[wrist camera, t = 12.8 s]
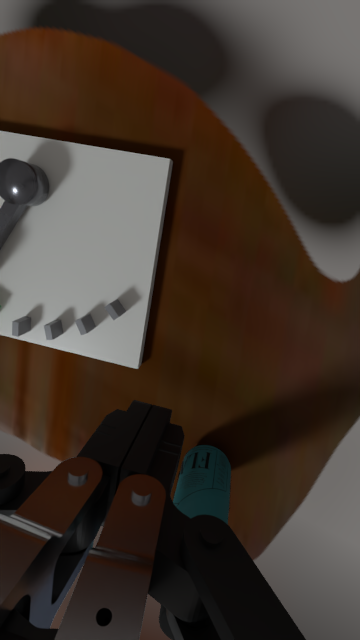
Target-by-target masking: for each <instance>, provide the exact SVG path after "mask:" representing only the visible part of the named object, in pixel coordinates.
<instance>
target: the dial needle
mask: <svg viewBox="0 0 360 640" xmlns="http://www.w3.org/2000/svg"><path fill="white" fill-rule="evenodd" d="M48 194H49V180H48V177H47V175H46V174H45V172H44V171H43V170H42V169H41V168H40V167H39V166H37V165H35V164H31V163H28V162H25V161H21V160H18V159H14V158H8V159H5V160H3V161H2V162H0V196H1V197H2V198H3V199H4V200H5V201H4V203H3V205H2V206H1V208H0V250H1V248H2V247H3V245H4V243H5V242H6V240H7V238H8V237H9V235H10V233H11V232H12V230H13V228H14V227H15V225H16V223H17V222H18V220H19V219H20V217H21V215H22V214H23V212H24V210H25V209H26V207H27V206H38V205H40V204H42V203H43V202H44V201H45V200H46V199H47V197H48Z"/></svg>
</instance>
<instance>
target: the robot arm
mask: <svg viewBox="0 0 360 640" xmlns="http://www.w3.org/2000/svg"><path fill="white" fill-rule="evenodd" d="M171 413H172V410H171V409H167V408H163V407H159V406H156V405H151V404H148V403H144V402H140V401H136V400H134V401H133V402H132V404H131V405H130V407H129V408H128V410H127V412H126V411H122V410H118V409H117V410H115V411H113V412H112V413H110V414H108V415H107V416H106V417H105V418H104V420H103V421H102V423H101V425H99V427H98V428H97V429H96V431H95V432H94V434H93V435H92V436H91V438H90V439H89V440H88V442H87V443H86V445H85V446H84V447H83V449H82V450H81V451H80V453H79V454H78V456H77V457H73V458H69V459H67V460H65V461H63V462H61V463H60V464H59V465H58V466H57V467H56V468H55V469H54V470H53V471H49V472H35V471H34V472H32V471H25V464H24V462H23V461H22V459H20V458H19V457H17V456H15V455H10V454H0V640H139V637H140V632H141V627H142V621H143V616H144V611H145V605H146V600H147V595H148V594H149V595H150V596H152V597H153V598H154V599H155V600H156V601H158V602H159V603H160V604H161V605H163V606H164V607H165V608H166V616H167V620H168V623H169V626H170V628H171V631H172V633H173V636H174V638H175V640H306V639H305V638H304V636H303V635H302V633H301V632H300V630H299V629H298V627H297V626H296V624H295V623H294V621H293V620H292V618H291V617H290V615H289V614H288V612H287V611H286V609H285V608H284V607H283V605H282V604H281V602H280V600H279V599H278V597H277V596H276V595H275V593H274V592H273V590H272V589H271V587H270V586H269V584H268V583H267V581H266V580H265V578H264V577H263V575H262V574H261V572H260V571H259V569H258V568H257V566H256V565H255V563H254V562H253V560H252V559H251V557H250V556H249V554H248V553H247V551H246V550H245V548H244V547H243V545H242V544H241V542H240V541H239V540H238V538H237V537H236V535H235V534H234V532H233V531H232V529H231V528H230V527H229V526H228V525H227V524H226V523H225V522H224V521H223V520H221V519H219V518H217V517H215V516H212V515H206V514H203V515H197V516H195V517H193V518H189V517H188V516H186V515H185V514H183V513H182V512H181V511H180V510H179V509H177V507H176V506H175V505H174V503H173V502H172V500H171V497H170V494H171V490H172V487H173V483H174V480H175V476H176V472H177V469H178V464H179V459H180V455H181V450H182V445H183V441H184V433H183V430H182V427H181V426H178V425H175V424H171V423H170V418H171ZM100 526H103V529H102V531H101V534H100V537H99V539H98V542H97V545H96V547H95V548H92V547H93V542H94V539H95V537H96V535H97V533H98V531H99V528H100ZM82 566H83V568H82ZM81 568H82V571H81V573H80V576H79V578H78V581H77V583H76V586H75V588H74V591H73V594H72V596H71V599H70V601H69V604H68V606H67V609H66V612H65V614H64V616H63V619H62V622H61V624H60V627H59V629H50V626H51V624H52V621H53V619H54V617H55V615H56V613H57V611H58V609H59V607H60V605H61V604H62V602H63V600H64V598H65V597H66V595H67V593H68V591H69V589H70V588H71V586H72V584H73V582H74V581H75V579H76V577H77V575H78V573H79V572H80V570H81Z"/></svg>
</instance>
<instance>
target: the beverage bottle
mask: <svg viewBox="0 0 360 640" xmlns="http://www.w3.org/2000/svg"><path fill="white" fill-rule="evenodd" d="M179 475H180V476H179ZM179 475H178V477H179V480H178V479H177V480H178V484H177V488H176V492H174V493H175V494H174V497H173V498H174V500H173V503H174V505H175V506H176V507H177V509H179V510H180V511H181V512H182V513H183V514H185V515H186V516H188V517H189V518H193V517H195V516H197V515H203V514H206V515H212V516H215V517H217V518H219V519H221V520H223V521H224V522H225V523H226V524H227V525H228V518H229V517H228V513H229V512H228V511H229V509H230V508H229V506H230V505H231V504H230V505H229V502H230V501H229V499H230V498H229V496H231V495H230V489H231V488H230V486H231V485H230V482H231V481H232V480H231V481H230V478H231V477H232V476H231V466H230V463H229V460H228V458H227V456H226V455H225V454H224V453H223V452H222V451H221V450H219V449H218V448H216V447H213V446H209V445H199V446H196V447H194V448H192V449H191V450H190V451H189V452H187V453H186V456H185V458H184V461H183V462H182V467H181V472H179ZM159 623H160V627H161V629H162V631H163V632H164V633H165V634H166V635H167V636H168V637H169V638H170V639H172V640H175V638H174V636H173V633H172V631H171V628H170V626H169V623H168V620H167V616H166V608H165V607H164V606H163V605H161V609H160V616H159Z"/></svg>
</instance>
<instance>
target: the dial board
mask: <svg viewBox="0 0 360 640" xmlns="http://www.w3.org/2000/svg"><path fill="white" fill-rule="evenodd" d="M8 158H14V159H18V160H21V161H25V162H28V163H31V164H35V165H37V166H39V167H40V168H41V169H42V170H43V171H44V172H45V174H46V175H47V177H48V180H49V194H48V197H47V199H46V200H45V201H44V202H43V203H42V204H40V205H38V206H27V207H26V209H25V210H24V212H23V214H22V215H21V217H20V219H19V220H18V222H17V223H16V225H15V227H14V228H13V230H12V232H11V233H10V235H9V237H8V238H7V240H6V242H5V243H4V245H3V247H2V248H1V250H0V335H4V336H8V337H12V338H16V339H20V340H24V341H28V342H32V343H36V344H40V345H43V346H47V347H51V348H55V349H59V350H63V351H67V352H71V353H75V354H79V355H83V356H87V357H91V358H95V359H99V360H103V361H107V362H111V363H115V364H119V365H123V366H127V367H131V368H135V369H138V368H139V367H140V366H141V363H142V357H143V351H144V344H145V338H146V331H147V325H148V319H149V312H150V306H151V300H152V293H153V287H154V280H155V274H156V268H157V261H158V255H159V248H160V242H161V236H162V229H163V223H164V216H165V210H166V204H167V197H168V191H169V184H170V178H171V172H172V165H173V161H172V160H171V159H168V158H162V157H156V156H150V155H144V154H138V153H132V152H126V151H120V150H113V149H107V148H101V147H95V146H89V145H83V144H77V143H71V142H65V141H59V140H53V139H47V138H41V137H35V136H29V135H23V134H17V133H11V132H5V131H0V162H2V161H3V160H5V159H8ZM4 201H5V200H4V199H3V198H2V197H1V196H0V208H1V206H2V205H3V203H4Z"/></svg>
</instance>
